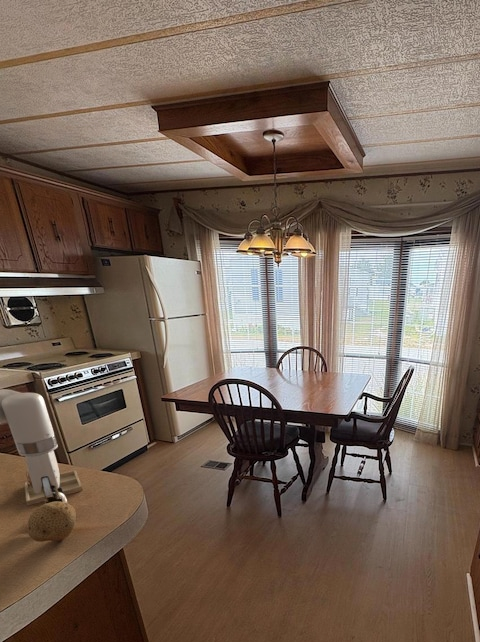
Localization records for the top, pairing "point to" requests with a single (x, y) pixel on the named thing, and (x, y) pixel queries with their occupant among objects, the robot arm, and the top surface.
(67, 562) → the top surface
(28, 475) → the brown egg
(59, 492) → the white egg
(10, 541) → the top surface
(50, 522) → the natural sponge
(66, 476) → the cream divided tray
